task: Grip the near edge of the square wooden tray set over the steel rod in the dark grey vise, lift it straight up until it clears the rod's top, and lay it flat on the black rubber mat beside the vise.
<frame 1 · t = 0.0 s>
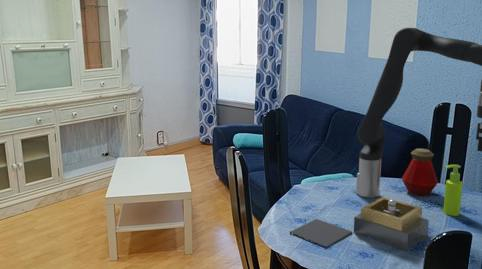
black mat: (320, 233, 152), on the table
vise: (390, 233, 150), on the table
soap dispenser: (450, 213, 167), on the table
wooden tray: (391, 218, 149), point 6 cm above the table, touching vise
bottle: (418, 193, 190), on the table
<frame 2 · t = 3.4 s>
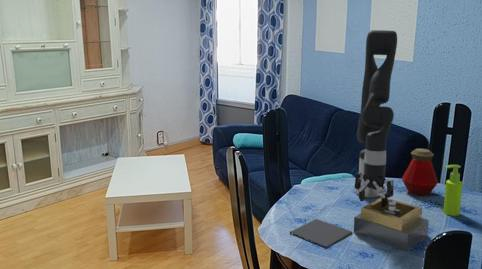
hand: (372, 203, 153), 10 cm above the table, tool pointing down, fingers open, 8 cm apart
nothing on the table moved.
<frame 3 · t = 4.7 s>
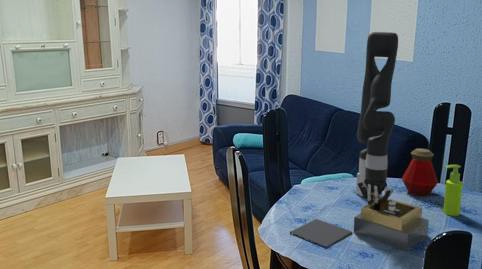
hand: (373, 210, 154), 7 cm above the table, tool pointing down, fingers closed on wooden tray
wooden tray: (391, 218, 149), point 6 cm above the table, touching gripper, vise
everything else where it was.
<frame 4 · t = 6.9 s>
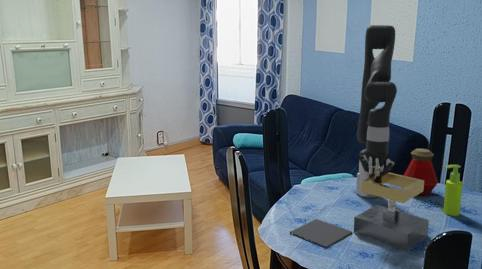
hand: (375, 184, 152), 17 cm above the table, tool pointing down, fingers closed on wooden tray
wooden tray: (392, 191, 147), point 16 cm above the table, touching gripper
everything else where it was.
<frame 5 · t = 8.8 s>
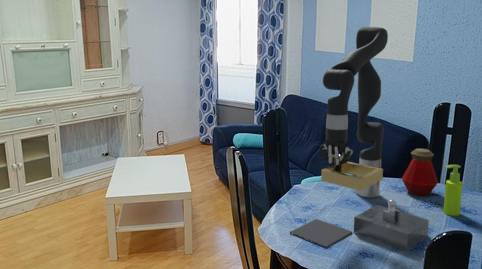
hand: (335, 173, 151), 21 cm above the table, tool pointing down, fingers closed on wooden tray
wooden tray: (351, 180, 146), point 20 cm above the table, touching gripper
everything else where it was.
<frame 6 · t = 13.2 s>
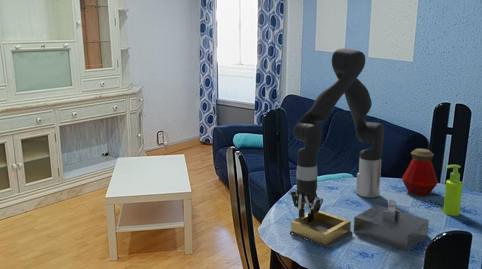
hand: (306, 220, 156), 3 cm above the table, tool pointing down, fingers open, 3 cm apart
wooden tray: (320, 231, 152), point 1 cm above the table, touching black mat
everything else where it was.
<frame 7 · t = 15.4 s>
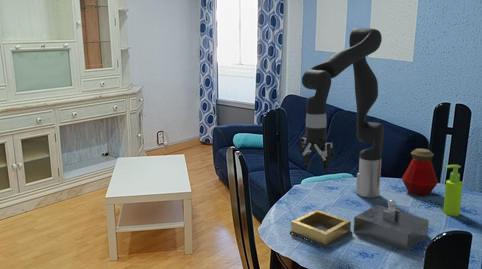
hand: (315, 166, 156), 22 cm above the table, tool pointing down, fingers open, 8 cm apart
nothing on the table moved.
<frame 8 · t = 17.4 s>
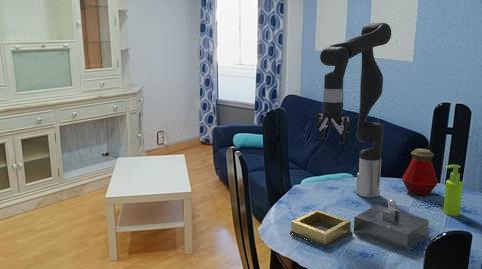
hand: (331, 141, 162), 30 cm above the table, tool pointing down, fingers open, 8 cm apart
nothing on the table moved.
at the end: wooden tray inside the target area (0.2 cm from its centre), point 0.6 cm above the table; wooden tray tilted 0°; the gripper is holding nothing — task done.
